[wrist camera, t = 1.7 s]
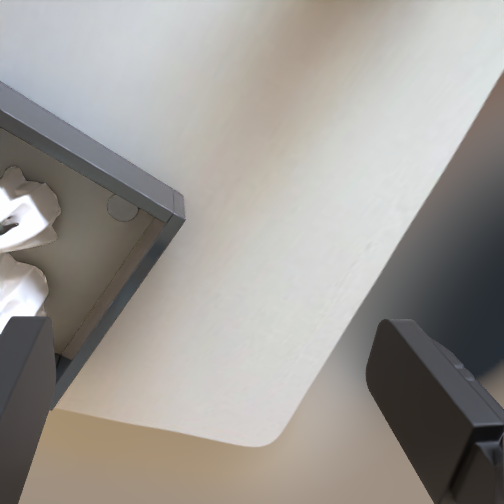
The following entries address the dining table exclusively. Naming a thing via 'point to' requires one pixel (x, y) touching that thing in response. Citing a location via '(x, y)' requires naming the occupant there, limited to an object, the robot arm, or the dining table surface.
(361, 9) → the dining table surface
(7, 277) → the shaker set
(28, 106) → the grey open box
